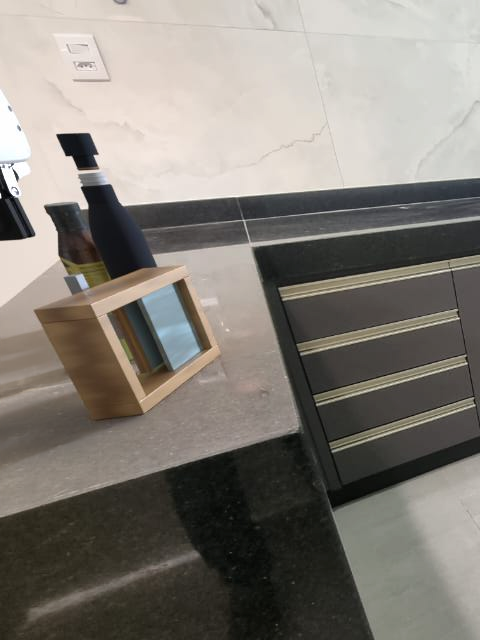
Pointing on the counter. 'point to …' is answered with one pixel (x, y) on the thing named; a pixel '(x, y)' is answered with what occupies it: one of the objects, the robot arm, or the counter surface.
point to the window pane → (127, 328)
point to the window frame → (107, 352)
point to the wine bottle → (107, 213)
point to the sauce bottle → (77, 243)
